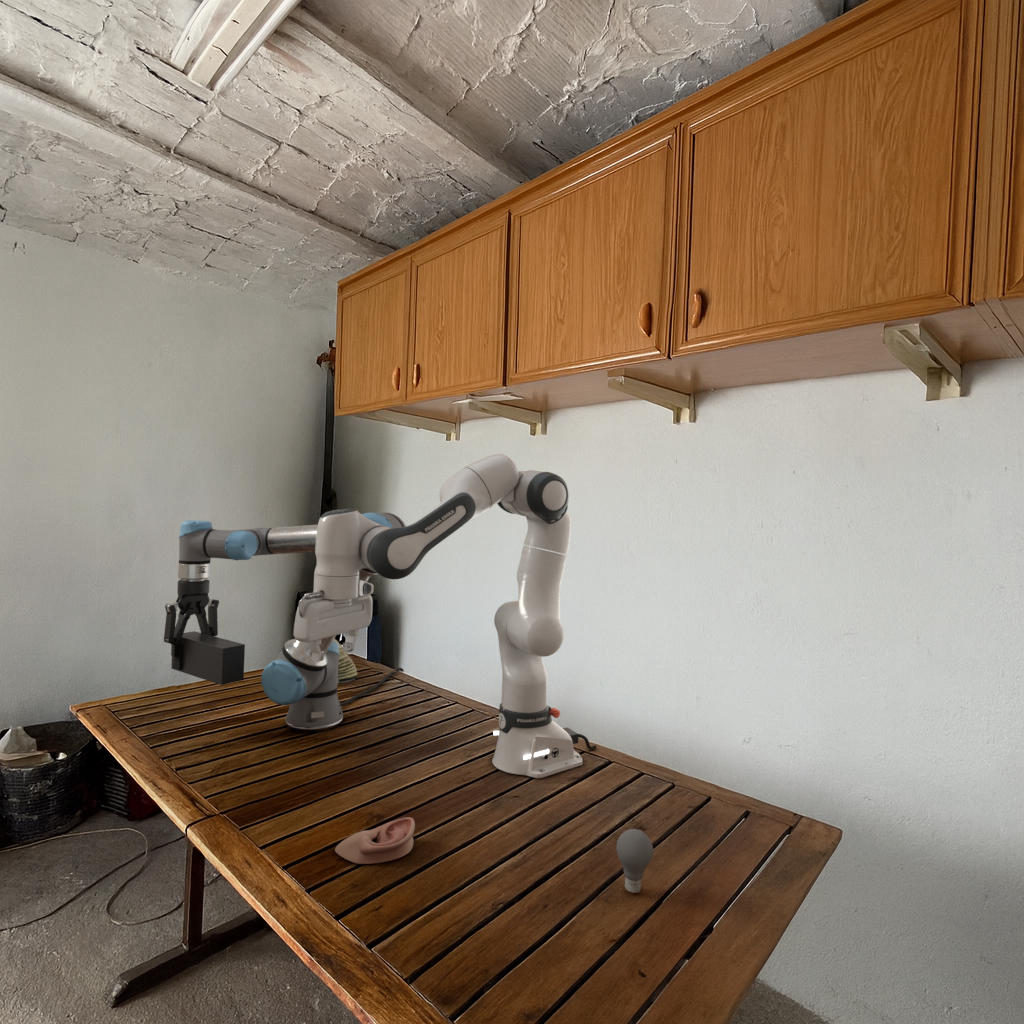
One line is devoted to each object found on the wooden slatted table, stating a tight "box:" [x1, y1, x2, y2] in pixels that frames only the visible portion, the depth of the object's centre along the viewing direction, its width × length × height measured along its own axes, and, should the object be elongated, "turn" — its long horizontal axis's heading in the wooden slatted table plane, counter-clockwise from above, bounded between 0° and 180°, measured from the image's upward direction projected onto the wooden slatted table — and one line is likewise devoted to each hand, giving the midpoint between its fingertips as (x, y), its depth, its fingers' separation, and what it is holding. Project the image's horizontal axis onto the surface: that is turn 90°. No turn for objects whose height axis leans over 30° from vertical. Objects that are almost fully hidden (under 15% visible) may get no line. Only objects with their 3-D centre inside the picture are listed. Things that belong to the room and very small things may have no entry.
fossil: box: [333, 638, 359, 684], centre depth 215 cm, size 9×18×15 cm, turn 132°
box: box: [170, 630, 246, 686], centre depth 163 cm, size 22×6×9 cm, turn 58°
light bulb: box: [615, 828, 654, 894], centre depth 106 cm, size 6×6×10 cm
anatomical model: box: [334, 816, 416, 865], centre depth 115 cm, size 13×4×12 cm
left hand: (190, 666), depth 167 cm, fingers closed on box, 6 cm apart
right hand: (333, 656), depth 129 cm, fingers open, 8 cm apart
